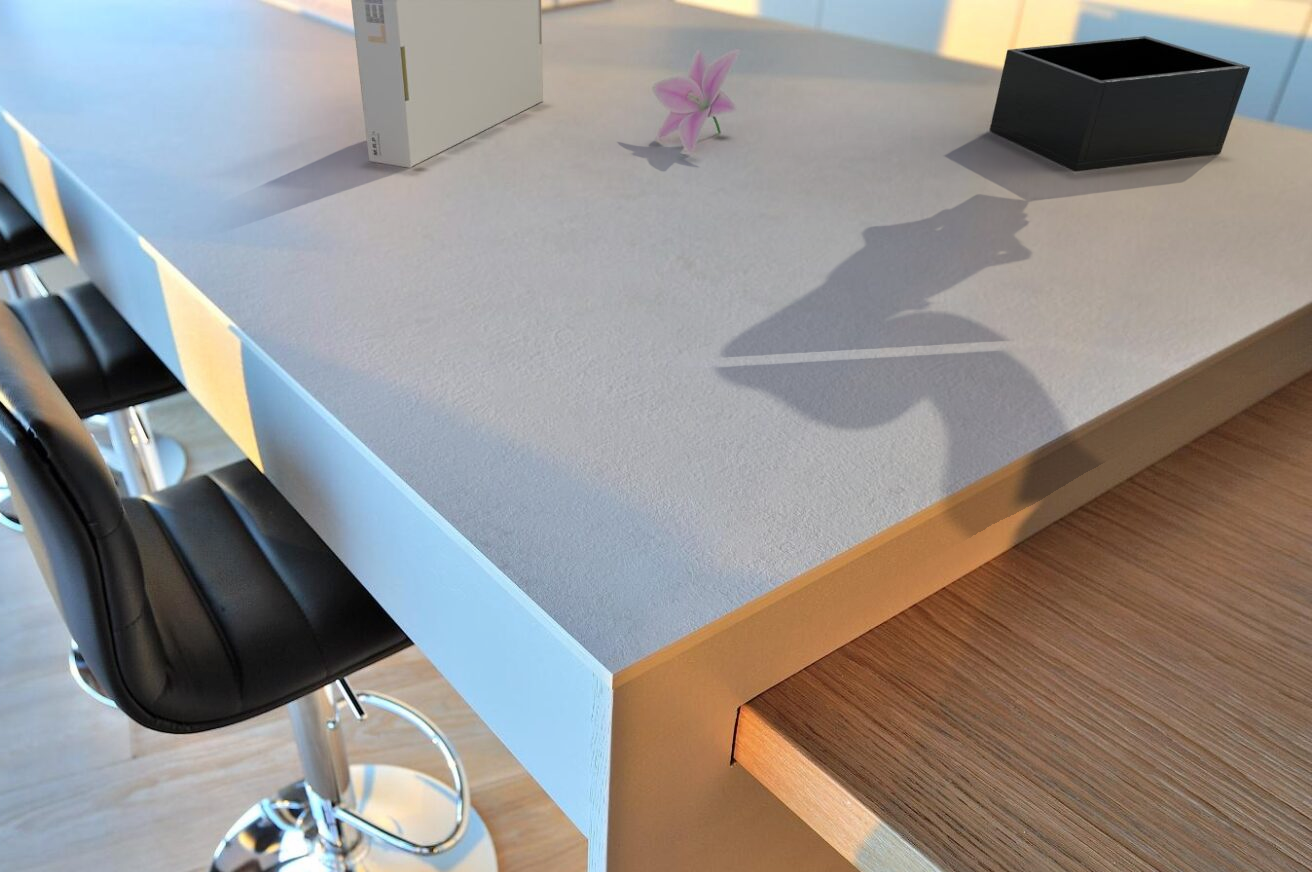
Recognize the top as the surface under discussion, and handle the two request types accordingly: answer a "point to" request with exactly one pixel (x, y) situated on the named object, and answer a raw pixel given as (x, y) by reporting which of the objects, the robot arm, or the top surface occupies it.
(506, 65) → the packaging
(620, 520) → the top surface
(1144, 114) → the black open box
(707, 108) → the lily
